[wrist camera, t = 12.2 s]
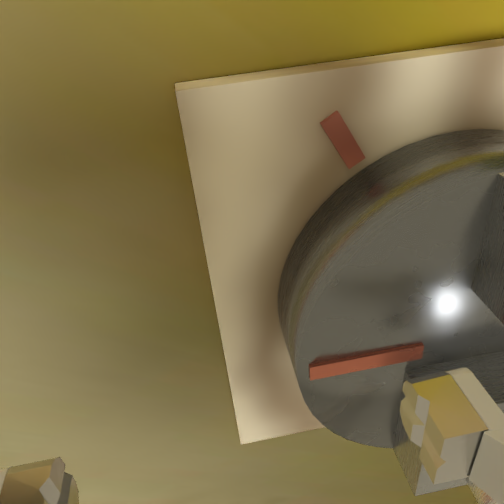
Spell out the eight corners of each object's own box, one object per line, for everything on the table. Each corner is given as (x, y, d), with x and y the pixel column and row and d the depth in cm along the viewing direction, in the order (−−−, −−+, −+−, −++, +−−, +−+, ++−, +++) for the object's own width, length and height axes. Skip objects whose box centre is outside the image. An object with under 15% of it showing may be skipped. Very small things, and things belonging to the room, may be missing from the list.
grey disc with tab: (634, 103, 19) (861, 175, 13) (534, 360, 28) (639, 474, 22) (265, 160, 18) (319, 271, 11) (285, 410, 27) (322, 546, 21)
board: (697, 11, 19) (732, 15, 18) (548, 365, 31) (562, 381, 30) (174, 83, 17) (175, 92, 16) (238, 427, 29) (241, 447, 28)
